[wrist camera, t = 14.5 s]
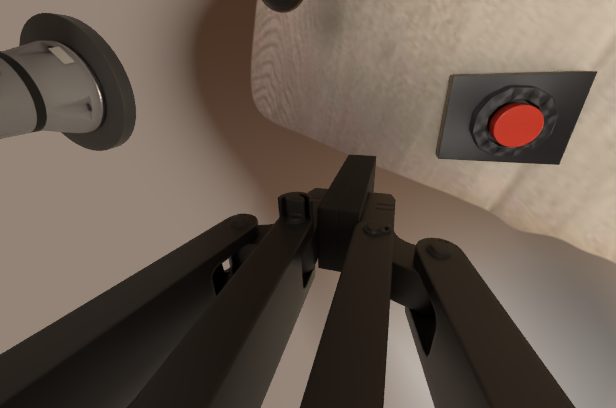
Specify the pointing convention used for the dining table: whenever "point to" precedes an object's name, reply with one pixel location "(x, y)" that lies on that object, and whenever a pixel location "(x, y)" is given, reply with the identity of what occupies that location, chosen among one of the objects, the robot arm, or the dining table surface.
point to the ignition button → (516, 124)
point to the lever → (282, 5)
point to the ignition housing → (500, 92)
